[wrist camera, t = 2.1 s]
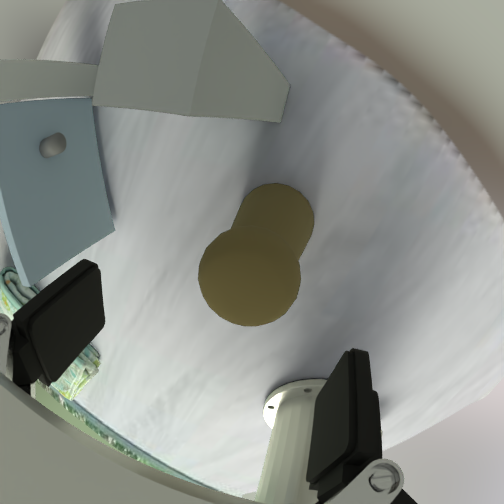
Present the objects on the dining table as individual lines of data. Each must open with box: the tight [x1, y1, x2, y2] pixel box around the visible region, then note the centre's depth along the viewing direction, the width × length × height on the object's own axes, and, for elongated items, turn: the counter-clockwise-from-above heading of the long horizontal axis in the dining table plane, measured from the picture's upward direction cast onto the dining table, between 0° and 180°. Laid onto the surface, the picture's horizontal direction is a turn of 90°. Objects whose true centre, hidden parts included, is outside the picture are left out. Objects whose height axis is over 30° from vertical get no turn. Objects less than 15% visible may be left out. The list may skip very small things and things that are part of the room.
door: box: [0, 98, 115, 287], centre depth 19 cm, size 13×3×11 cm, turn 8°
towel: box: [0, 267, 101, 401], centre depth 38 cm, size 18×21×5 cm
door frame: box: [0, 0, 290, 123], centre depth 13 cm, size 20×3×16 cm, turn 78°
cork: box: [198, 183, 314, 326], centre depth 19 cm, size 6×6×11 cm
